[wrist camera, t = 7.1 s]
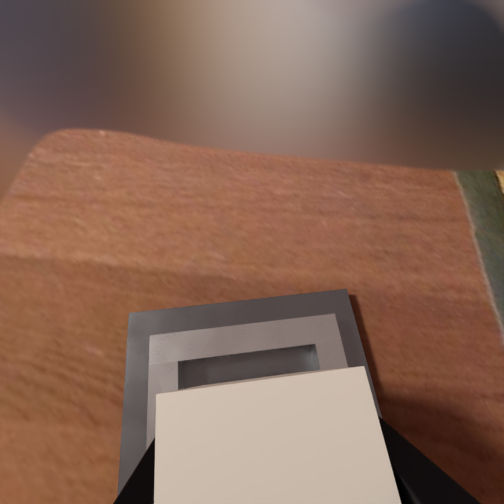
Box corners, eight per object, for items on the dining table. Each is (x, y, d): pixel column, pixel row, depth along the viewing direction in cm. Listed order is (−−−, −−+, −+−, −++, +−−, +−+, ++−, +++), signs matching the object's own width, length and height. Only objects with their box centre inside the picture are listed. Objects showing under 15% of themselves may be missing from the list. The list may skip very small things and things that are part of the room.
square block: (316, 488, 13) (449, 683, 5) (209, 506, 12) (148, 755, 4) (296, 372, 15) (364, 365, 7) (203, 385, 14) (156, 394, 6)
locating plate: (415, 571, 13) (451, 611, 11) (117, 633, 12) (89, 692, 10) (341, 292, 19) (355, 281, 17) (134, 316, 18) (119, 307, 16)
